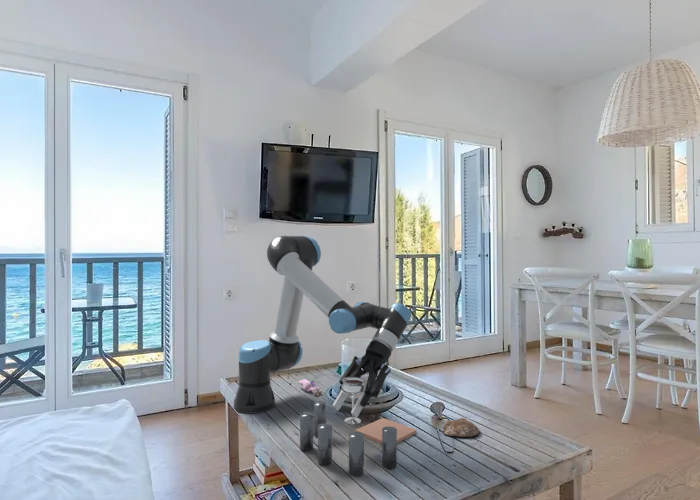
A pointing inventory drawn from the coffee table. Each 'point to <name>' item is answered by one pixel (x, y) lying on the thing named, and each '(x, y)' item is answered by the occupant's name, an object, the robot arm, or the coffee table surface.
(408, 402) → the coffee table surface
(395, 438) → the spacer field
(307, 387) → the rabbit figure
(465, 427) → the shell
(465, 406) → the coffee table surface
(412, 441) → the coffee table surface
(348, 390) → the wineglass
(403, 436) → the terracotta tile
